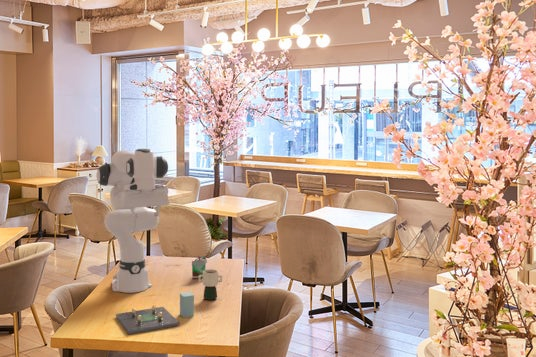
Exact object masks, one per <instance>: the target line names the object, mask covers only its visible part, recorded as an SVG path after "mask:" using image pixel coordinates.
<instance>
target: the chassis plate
mask: <svg viewBox="0 0 536 357" xmlns="http://www.w3.org/2000/svg"><path fill="white" fill-rule="evenodd" d="M115 319H116V320H117V321H118V322H119V324H120V325H121V327H122V328H123V329H124V330H125V332H126V333H127V335H129V336H130V335H135V334H140V333H145V332H151V331H157V330H162V329H168V328H174V327H179V326H180V322H179V320H177V319H176V318H175V317H174V316H173V315H172V314H171V313H170V312H169V311H168V310H167V309H166V308H165V307H164V306H160V307H157V306H156V305H152V306H151V308H147V309H140V310H139V309H138V310H136V308H132V309H131V311H126V312H119V313H115Z"/></svg>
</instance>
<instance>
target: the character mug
mask: <svg viewBox="0 0 536 357" xmlns="http://www.w3.org/2000/svg"><path fill="white" fill-rule="evenodd" d="M201 277H203V278H202V279H201ZM219 278H220V279H219ZM198 282H199V283H202V285H203V286H205V287H204V290H203V298H204V299H205V300H210V301H212V300H215V299H217V298H218V292H217V286H218V284H219V283H222V282H223V274H219V270H218V269H214V268H213V269H211V268H210V269H205V270H204V271H203V275H199V279H198Z"/></svg>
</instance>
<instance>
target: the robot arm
mask: <svg viewBox="0 0 536 357" xmlns="http://www.w3.org/2000/svg"><path fill="white" fill-rule="evenodd" d="M134 150H135V151H134V152H131V151H129V150H119V151H116V152H115V153H113V155H112V156H111V161H110V163H108V162H105V163H104V164H103V165H101V166H99V167H98V168H97V171H96V174H95V175H96V176H95V177H96V180H97V182H98V185H100V186H105V187H110V186H111V187H112V188H111V190H110V193H109V197H110V198H109V199H110V202H111V205H112V207H113V210H110V211H108V212H107V214H106V215H105V216H104V220H103V222H104V228H105V229H106V230H107V231H108V232H109V233H111V234H112V235H113V236H114V237H115V238H116V240H117V242H118V245H119V251H120V253H119V254H120V259H119V263H118V267H119V268H118V269H117V271H116V274H112V278H113V280H111V289H112V290H111V291H112V292H120V293H127V294H128V293H133V294H134V293H139V292H143V291H146V290H147V289H149V288H151V287H152V285H153V284H152V283H150V282H149V280H150V279H149V270H148V269H147V268H146V259H145V245H144V242H143V241H142V240H140V239H138V238H137V237H133V234H132V233H134V232H135V233H136V232H145V231H146V232H147V231H150V230H153V229H156V228H157V227H158V225H159V222H160V216H159V215H160V211H161V209H162V207H163V206H165V207H166V206H168V205H169V204H170V201H169V195H168V194H169V188H168V186H166V185H165V184H156V179H162V178H163V177H165V176H166V175H167V174H168V171H169V165H168V164H169V163H168V162H167V160H166V158H164V157H163V156H162V155H160V156H154V151H153V150H152V149H150V148H138V149H134ZM152 207H156V209H157V210H156V209H154V208H152Z"/></svg>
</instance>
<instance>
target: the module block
mask: <svg viewBox="0 0 536 357" xmlns="http://www.w3.org/2000/svg"><path fill="white" fill-rule="evenodd" d="M179 315H180V316H181V317H182V318H183V319H185V318H190V317H194V316H195V294H193V293H192V292H191V291H188V292H182V293H180V292H179Z"/></svg>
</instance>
